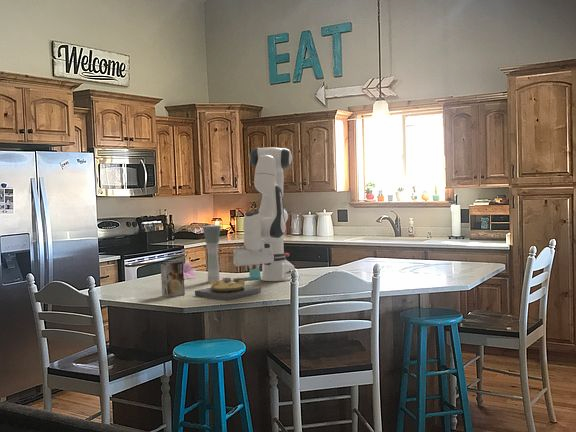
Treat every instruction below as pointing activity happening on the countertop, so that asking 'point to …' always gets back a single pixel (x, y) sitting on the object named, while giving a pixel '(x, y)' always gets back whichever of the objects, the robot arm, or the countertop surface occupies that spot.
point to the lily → (188, 270)
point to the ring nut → (234, 282)
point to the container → (212, 251)
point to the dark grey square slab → (227, 293)
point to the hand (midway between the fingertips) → (254, 273)
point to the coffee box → (172, 279)
